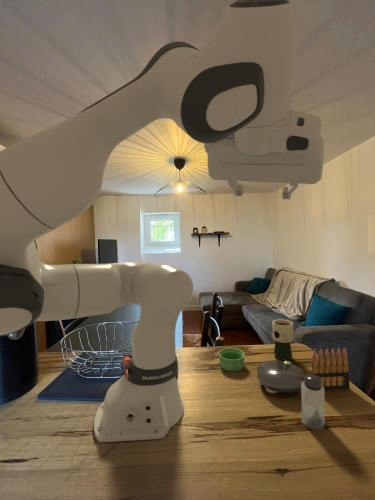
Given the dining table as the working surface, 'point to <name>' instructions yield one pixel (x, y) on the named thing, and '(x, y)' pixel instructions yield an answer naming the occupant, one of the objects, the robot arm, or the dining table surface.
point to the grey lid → (280, 376)
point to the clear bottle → (312, 402)
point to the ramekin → (231, 359)
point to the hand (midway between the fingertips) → (262, 195)
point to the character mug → (282, 338)
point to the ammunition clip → (331, 369)
